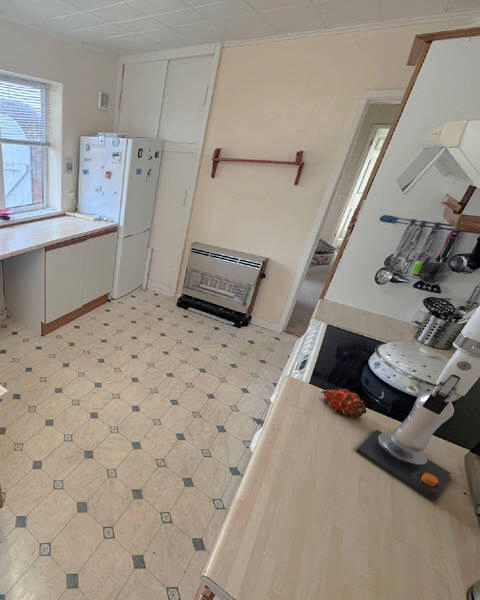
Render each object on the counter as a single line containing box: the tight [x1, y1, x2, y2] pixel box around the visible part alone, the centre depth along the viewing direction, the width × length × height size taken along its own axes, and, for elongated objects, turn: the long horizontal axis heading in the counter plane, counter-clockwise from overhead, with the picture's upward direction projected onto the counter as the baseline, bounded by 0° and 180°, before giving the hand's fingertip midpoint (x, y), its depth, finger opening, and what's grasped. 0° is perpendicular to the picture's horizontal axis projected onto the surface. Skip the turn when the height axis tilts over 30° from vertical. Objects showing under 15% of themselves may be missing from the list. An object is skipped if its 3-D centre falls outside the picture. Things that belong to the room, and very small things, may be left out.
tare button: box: [421, 473, 439, 487], centre depth 79 cm, size 3×3×2 cm
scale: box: [355, 429, 452, 503], centre depth 86 cm, size 16×14×4 cm
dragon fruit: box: [320, 387, 367, 419], centre depth 103 cm, size 8×8×12 cm
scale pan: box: [378, 432, 428, 466], centre depth 87 cm, size 10×10×1 cm
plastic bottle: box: [391, 384, 458, 453], centre depth 83 cm, size 6×7×20 cm
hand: (435, 404), depth 80 cm, fingers closed on plastic bottle, 6 cm apart
